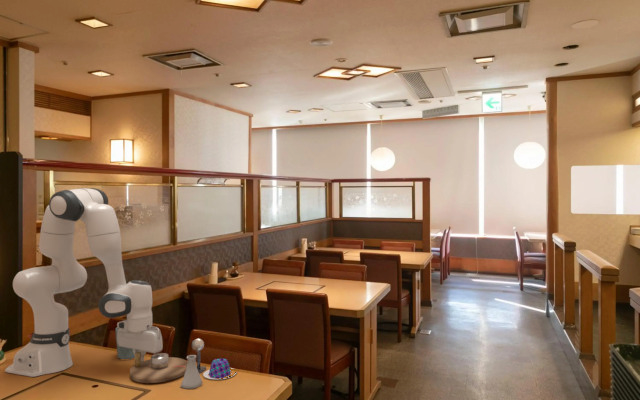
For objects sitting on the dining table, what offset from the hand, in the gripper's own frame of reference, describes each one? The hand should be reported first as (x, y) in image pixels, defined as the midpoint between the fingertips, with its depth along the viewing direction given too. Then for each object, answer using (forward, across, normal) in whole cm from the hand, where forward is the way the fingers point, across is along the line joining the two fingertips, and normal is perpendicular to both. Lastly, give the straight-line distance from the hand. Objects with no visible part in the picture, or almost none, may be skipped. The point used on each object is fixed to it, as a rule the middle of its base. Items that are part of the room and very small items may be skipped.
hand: (139, 361), depth 166 cm
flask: (+4, -26, +1) cm, 27 cm away
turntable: (+4, -8, -2) cm, 9 cm away
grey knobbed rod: (+4, -19, -10) cm, 22 cm away
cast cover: (+1, -9, -2) cm, 9 cm away
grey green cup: (+4, +18, -10) cm, 21 cm away
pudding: (+4, -29, -11) cm, 31 cm away
